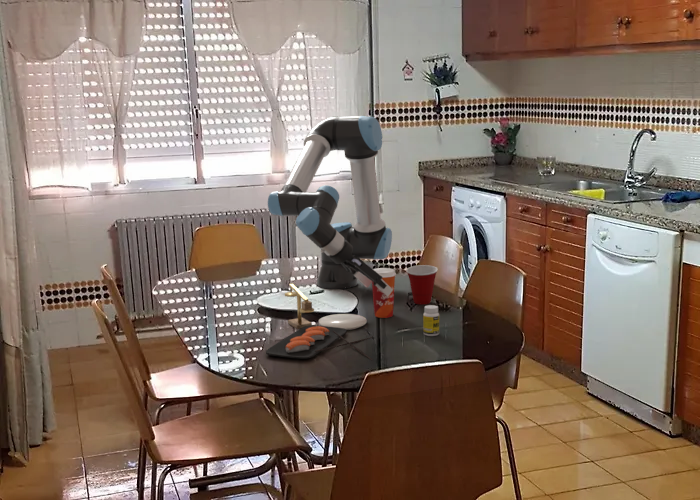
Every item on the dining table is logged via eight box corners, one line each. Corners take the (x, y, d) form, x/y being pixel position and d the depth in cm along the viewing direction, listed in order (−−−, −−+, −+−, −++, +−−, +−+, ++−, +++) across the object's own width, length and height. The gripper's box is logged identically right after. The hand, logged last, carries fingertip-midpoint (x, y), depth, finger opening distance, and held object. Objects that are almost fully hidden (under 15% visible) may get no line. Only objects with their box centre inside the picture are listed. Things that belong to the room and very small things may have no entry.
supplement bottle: (434, 337, 236) (434, 309, 234) (420, 335, 238) (420, 307, 237) (441, 333, 240) (441, 305, 238) (427, 330, 242) (427, 303, 241)
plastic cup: (401, 304, 272) (400, 270, 270) (413, 297, 282) (413, 264, 279) (430, 308, 267) (430, 273, 265) (442, 300, 277) (442, 266, 274)
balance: (282, 320, 257) (281, 283, 255) (297, 317, 259) (295, 281, 257) (302, 332, 243) (301, 294, 241) (317, 330, 245) (316, 292, 243)
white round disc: (311, 321, 254) (310, 318, 254) (352, 315, 261) (352, 311, 261) (331, 333, 241) (331, 330, 241) (375, 326, 248) (375, 322, 248)
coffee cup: (378, 320, 255) (378, 274, 252) (366, 314, 262) (365, 269, 259) (401, 316, 258) (401, 271, 255) (388, 310, 266) (388, 266, 263)
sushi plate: (306, 330, 248) (306, 318, 247) (398, 339, 236) (398, 327, 236) (261, 359, 221) (261, 346, 221) (362, 371, 210) (362, 357, 209)
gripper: (312, 250, 258) (354, 289, 267) (347, 263, 236) (391, 306, 245) (326, 232, 259) (368, 272, 268) (362, 244, 237) (406, 287, 247)
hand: (379, 288), depth 257 cm, fingers open, 13 cm apart
